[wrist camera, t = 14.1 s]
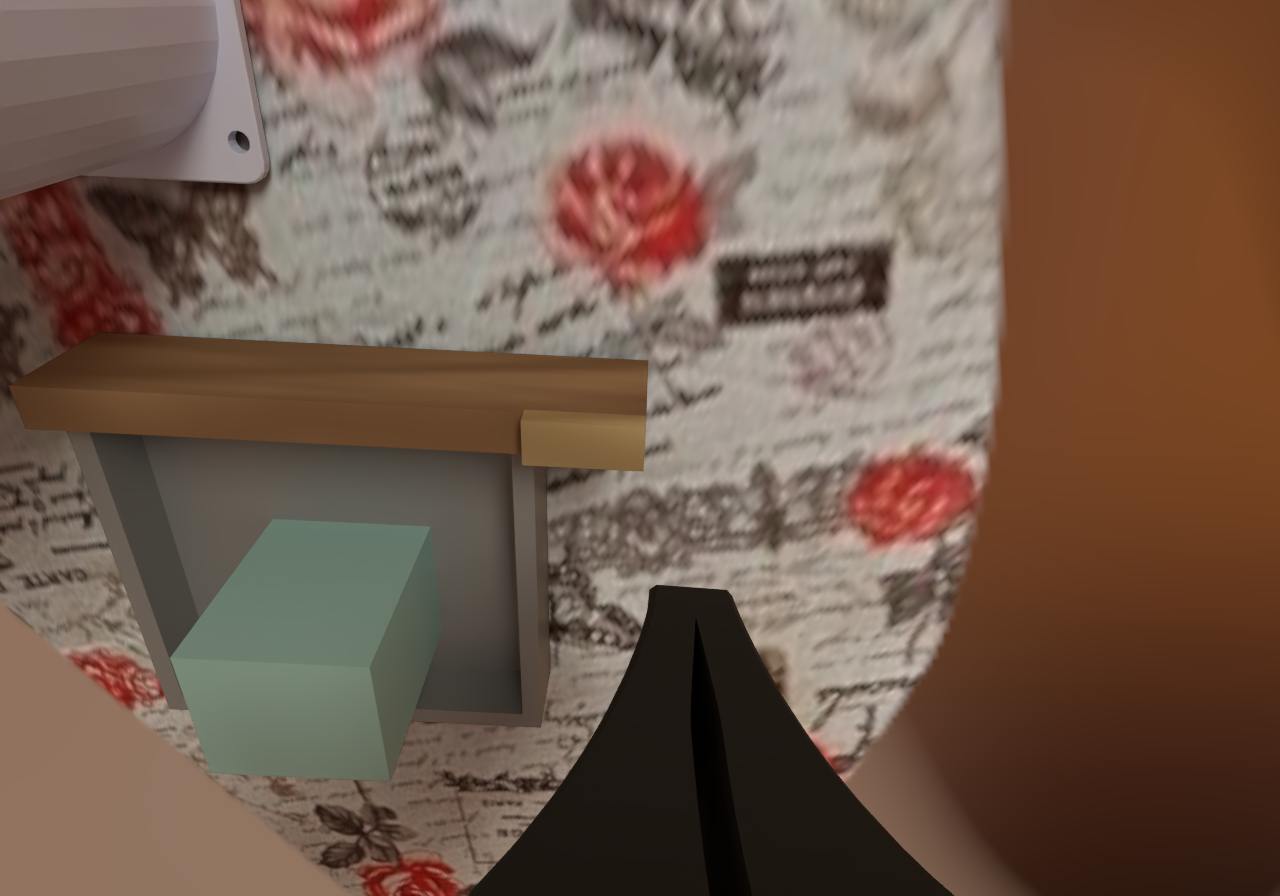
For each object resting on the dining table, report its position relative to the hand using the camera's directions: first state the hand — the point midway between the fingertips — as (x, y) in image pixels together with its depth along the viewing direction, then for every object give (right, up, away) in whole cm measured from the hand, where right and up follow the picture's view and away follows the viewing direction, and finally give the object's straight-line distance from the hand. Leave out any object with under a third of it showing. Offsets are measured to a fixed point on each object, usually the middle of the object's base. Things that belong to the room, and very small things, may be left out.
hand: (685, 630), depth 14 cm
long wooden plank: (-8, +6, +9) cm, 13 cm away
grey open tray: (-10, 0, +12) cm, 16 cm away
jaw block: (-10, -1, +12) cm, 16 cm away
